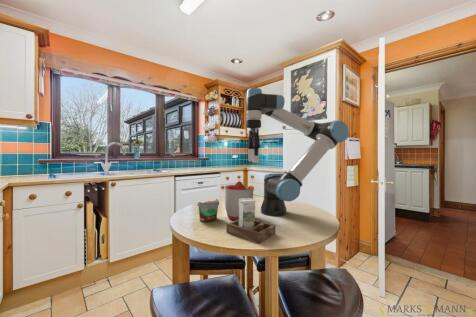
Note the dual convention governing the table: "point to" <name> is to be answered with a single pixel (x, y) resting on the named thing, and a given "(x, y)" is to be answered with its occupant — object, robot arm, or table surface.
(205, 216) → the food container
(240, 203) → the syrup box
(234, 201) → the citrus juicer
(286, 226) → the table surface
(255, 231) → the socket block
